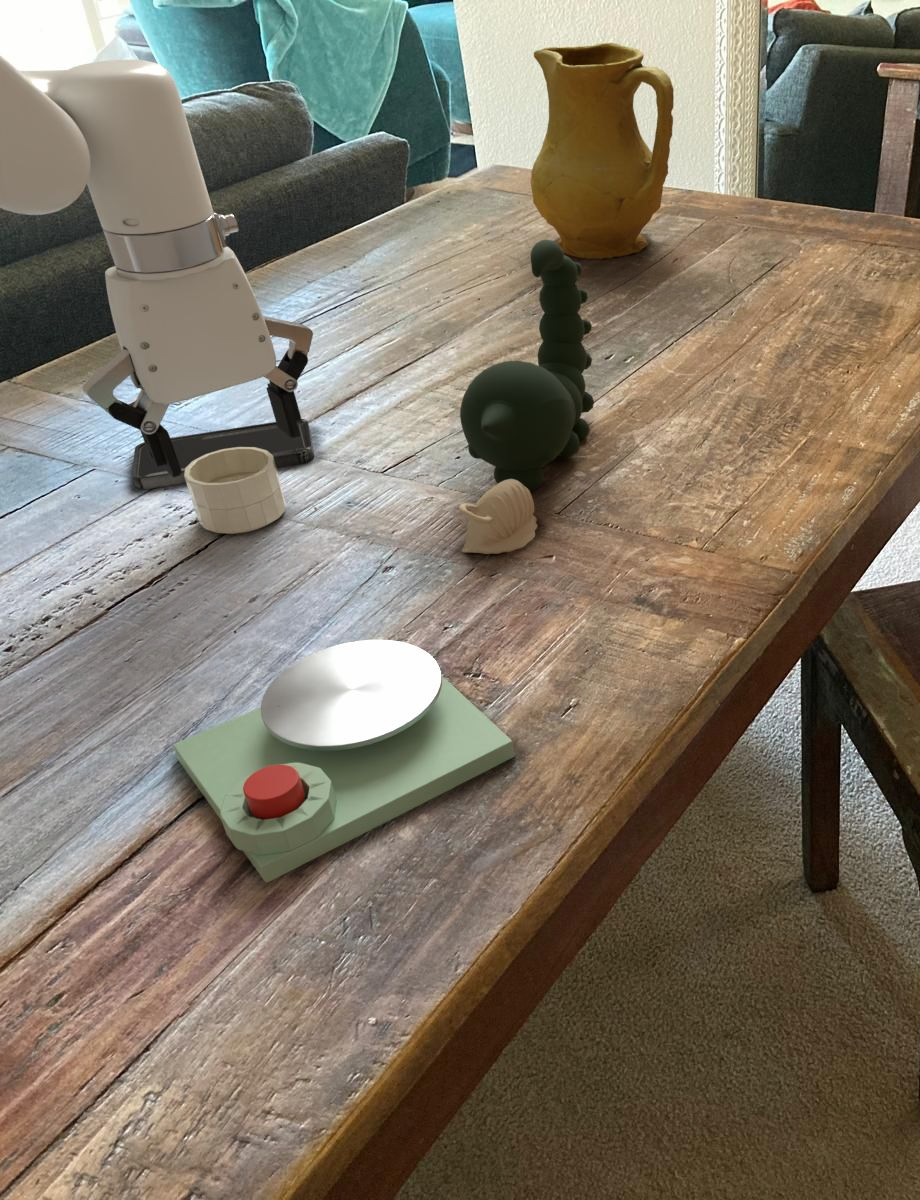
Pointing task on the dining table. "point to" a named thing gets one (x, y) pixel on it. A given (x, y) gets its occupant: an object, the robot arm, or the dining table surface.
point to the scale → (338, 778)
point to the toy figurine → (535, 384)
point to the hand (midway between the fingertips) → (232, 451)
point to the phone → (204, 443)
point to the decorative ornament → (500, 519)
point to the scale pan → (351, 695)
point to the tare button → (274, 791)
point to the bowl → (235, 489)
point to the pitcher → (600, 149)
